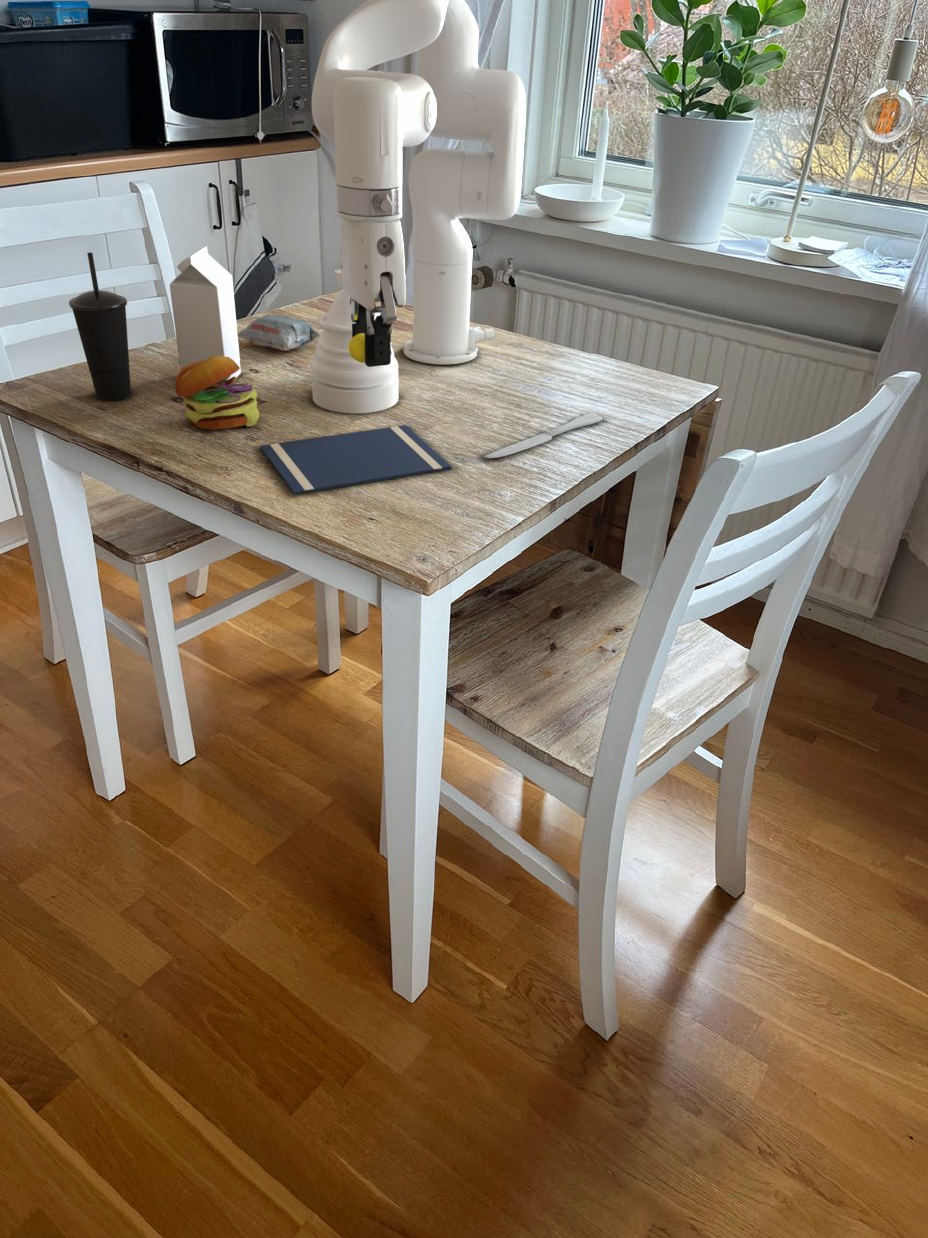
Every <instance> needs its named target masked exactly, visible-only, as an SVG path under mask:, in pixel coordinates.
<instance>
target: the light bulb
mask: <svg viewBox="0 0 928 1238" xmlns="http://www.w3.org/2000/svg"><path fill="white" fill-rule="evenodd" d="M348 350H349V353H350V355H351V357H352V358H353V359H355V360H356V361H358V362H361V363H365V334H364V333H360V334H357V335H355V336H354V337H353V338H352V339H351V340H350V342H349V348H348ZM391 355H392V351H391Z"/></svg>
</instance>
